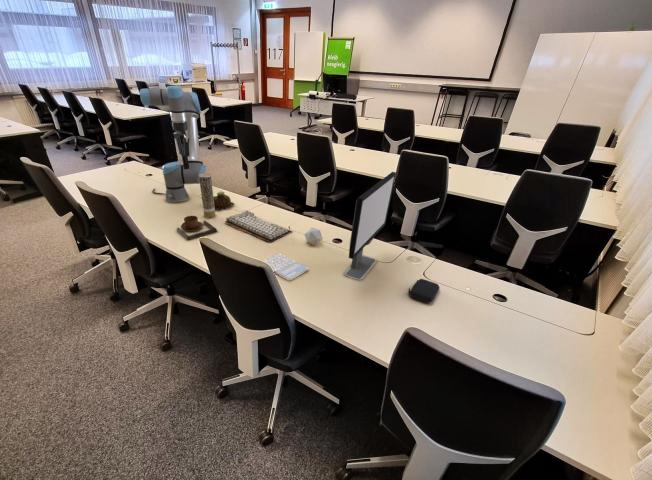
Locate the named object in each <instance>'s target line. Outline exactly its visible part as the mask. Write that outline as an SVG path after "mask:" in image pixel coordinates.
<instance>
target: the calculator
mask: <svg viewBox="0 0 652 480" xmlns="http://www.w3.org/2000/svg"><path fill="white" fill-rule="evenodd" d="M262 261H264V262H266V263H268V264H269V265H270V266H271V267H272V269H273V270H274V272H275V273H274V272H273V273H274V274H276V275H277V276H279V277H281V278H283V279H285V280H286V281H292V280H295V279H296V278H297V277H299V276H301V275H303V274H304V273H306V272H308V271H309V268H308V266H306V265H304V264H302V263H300V262H298V261H296V260H294V259H292V258H290V257H288V256H287V255H284V254H282V253H279V252H277V253H276V254H273V255H271V256H269V257H266V258H265V259H262Z"/></svg>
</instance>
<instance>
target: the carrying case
mask: <svg viewBox="0 0 652 480" xmlns="http://www.w3.org/2000/svg"><path fill="white" fill-rule="evenodd" d="M440 288H441V287H440V286H439V284H438V283H437V282H433V281H431V280H427V279H424V278H420V279H417V280H416V281H415V282H414V284H413V286H412V287H411V288H408V293H407V294H408V295H409V296H410V298H412V299H415V300H418V301H420V302H423V303H426V304H430V303H432V302H433V301H434V299H435V298H436V296H437V294H438V292H439V290H440Z"/></svg>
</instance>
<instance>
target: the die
mask: <svg viewBox="0 0 652 480" xmlns="http://www.w3.org/2000/svg"><path fill="white" fill-rule="evenodd" d="M304 237H305V241H306V243H307V244H310V245H312V246H314V247H316V246H317V245H318V244H319V243H320V242H322V241H323V235H322V232H321V230H320V229H318V228H315V227H313V226H312V227H310V228H309V229H308V230H307V231H306V232H305V233H304Z"/></svg>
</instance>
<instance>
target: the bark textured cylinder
mask: <svg viewBox="0 0 652 480" xmlns="http://www.w3.org/2000/svg"><path fill="white" fill-rule="evenodd" d="M199 181H200V184H199V187H200V196H201V203H202V210H203V216H204V218H205V219H212V218H215V216H216V210H215V206H214V197H215V196H214V190H213V189H214V188H213V182H212V174H211V173H210V172H206V173H201V174H199Z"/></svg>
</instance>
